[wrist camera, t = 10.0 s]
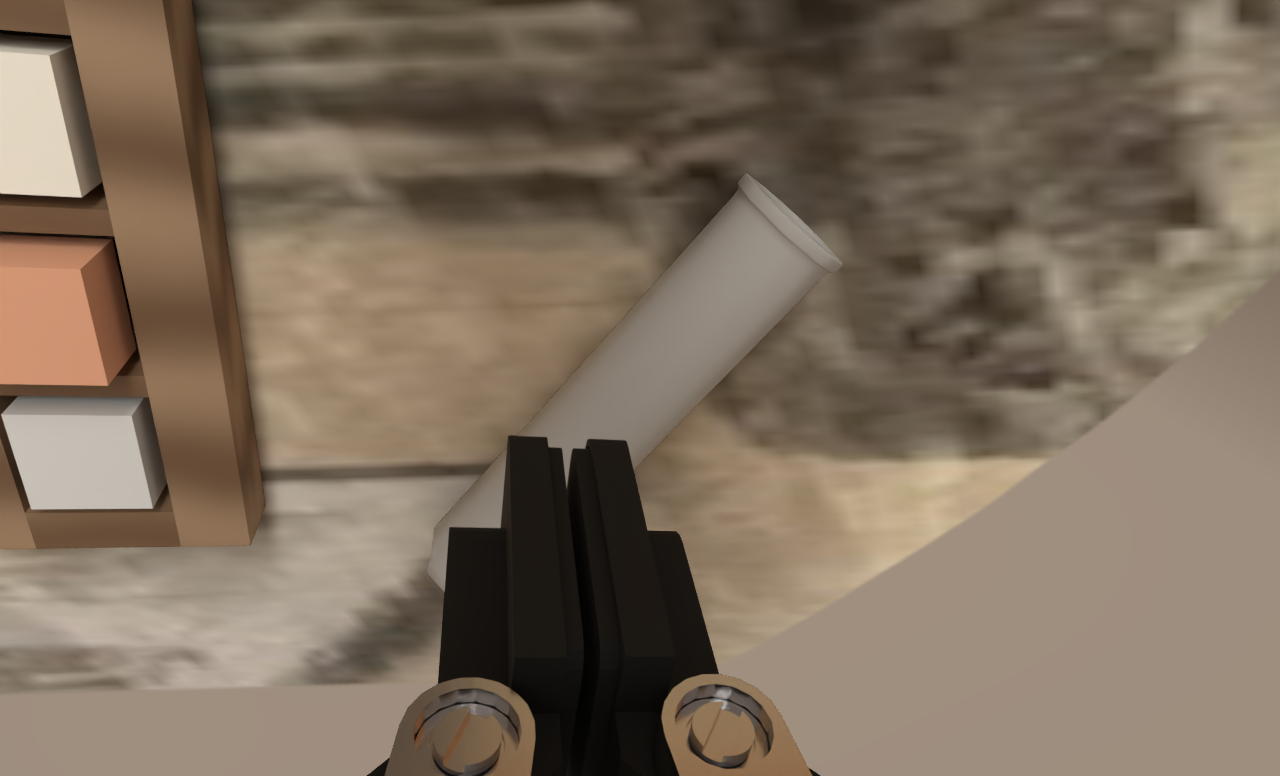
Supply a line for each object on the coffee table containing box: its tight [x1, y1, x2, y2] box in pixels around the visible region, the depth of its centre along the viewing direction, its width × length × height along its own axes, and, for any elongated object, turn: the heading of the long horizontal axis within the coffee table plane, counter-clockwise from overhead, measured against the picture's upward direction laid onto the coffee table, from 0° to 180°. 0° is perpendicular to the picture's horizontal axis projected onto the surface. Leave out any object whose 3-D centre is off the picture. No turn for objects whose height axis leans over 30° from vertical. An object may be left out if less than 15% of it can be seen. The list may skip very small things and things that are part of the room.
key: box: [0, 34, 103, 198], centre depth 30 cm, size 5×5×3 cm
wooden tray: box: [0, 0, 265, 549], centre depth 34 cm, size 24×12×3 cm, turn 174°
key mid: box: [0, 234, 136, 386], centre depth 32 cm, size 5×5×3 cm
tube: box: [427, 174, 842, 592], centre depth 40 cm, size 5×5×25 cm
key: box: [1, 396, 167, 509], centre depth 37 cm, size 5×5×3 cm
